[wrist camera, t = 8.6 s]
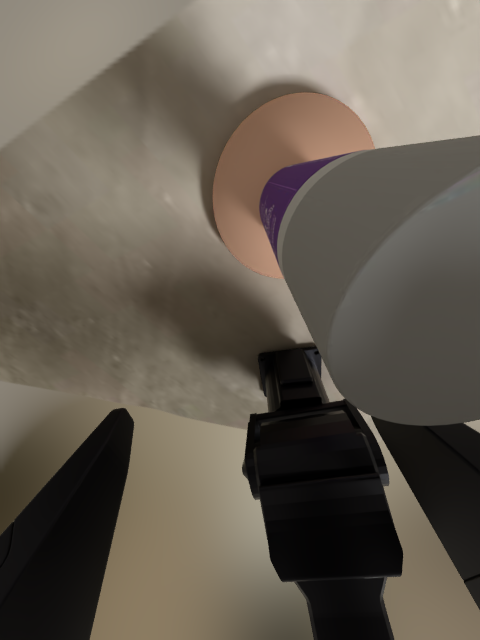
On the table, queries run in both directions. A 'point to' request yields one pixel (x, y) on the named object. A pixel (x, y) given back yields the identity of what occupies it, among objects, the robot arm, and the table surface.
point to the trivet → (276, 164)
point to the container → (388, 273)
